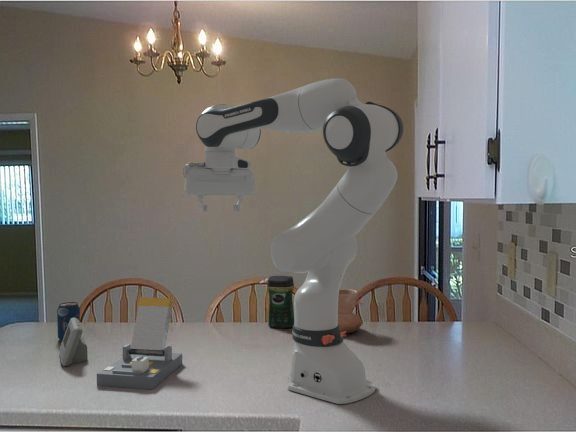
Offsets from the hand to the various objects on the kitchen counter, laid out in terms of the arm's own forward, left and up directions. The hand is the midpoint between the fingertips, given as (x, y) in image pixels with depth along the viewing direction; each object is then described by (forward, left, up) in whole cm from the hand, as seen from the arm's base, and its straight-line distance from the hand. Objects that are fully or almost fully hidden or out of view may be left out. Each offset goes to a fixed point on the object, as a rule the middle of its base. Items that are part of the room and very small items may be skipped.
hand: (220, 211), depth 134 cm
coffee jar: (+15, -36, -43) cm, 58 cm away
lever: (+7, +20, -38) cm, 44 cm away
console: (+5, +22, -43) cm, 49 cm away
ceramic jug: (-4, -46, -43) cm, 63 cm away
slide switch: (0, +25, -40) cm, 47 cm away
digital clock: (+32, +32, -43) cm, 63 cm away
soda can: (+53, +26, -43) cm, 73 cm away
